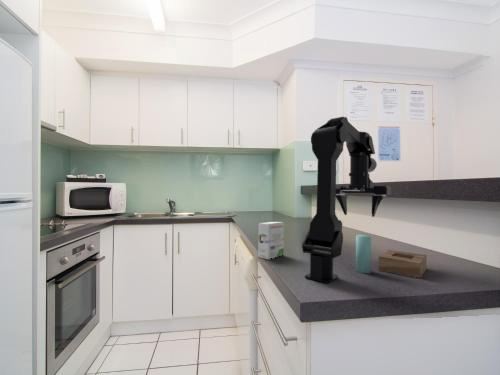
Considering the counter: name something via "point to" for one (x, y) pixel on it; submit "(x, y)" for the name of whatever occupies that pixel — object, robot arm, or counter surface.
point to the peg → (363, 253)
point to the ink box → (271, 240)
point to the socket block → (403, 263)
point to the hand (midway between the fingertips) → (358, 215)
